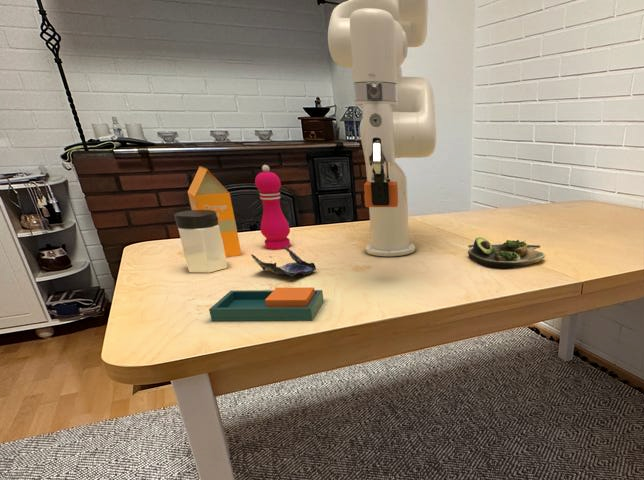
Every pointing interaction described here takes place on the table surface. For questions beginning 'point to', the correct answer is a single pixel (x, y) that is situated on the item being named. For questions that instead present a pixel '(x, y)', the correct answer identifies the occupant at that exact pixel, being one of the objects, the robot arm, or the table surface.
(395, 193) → the orange block
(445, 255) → the table surface
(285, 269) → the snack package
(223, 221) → the orange juice
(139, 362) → the table surface
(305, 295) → the fitted pad
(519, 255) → the salad plate
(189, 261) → the jar
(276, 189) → the pepper mill
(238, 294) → the tray
